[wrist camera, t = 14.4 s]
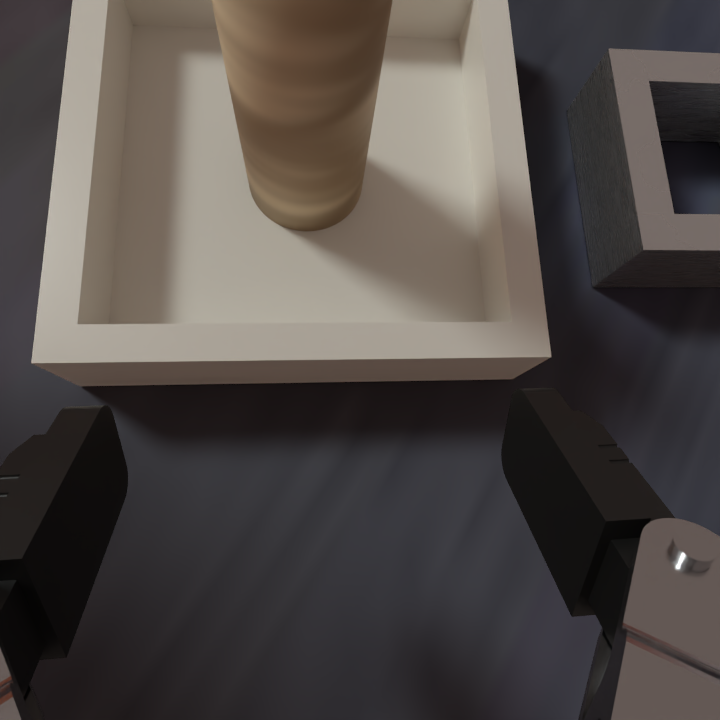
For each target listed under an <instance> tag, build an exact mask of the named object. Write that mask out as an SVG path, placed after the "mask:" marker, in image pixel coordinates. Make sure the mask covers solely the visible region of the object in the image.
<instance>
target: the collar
mask: <svg viewBox="0 0 720 720" xmlns="http://www.w3.org/2000/svg"><path fill="white" fill-rule="evenodd" d="M567 116H568V123H569V130H570V137H571V144H572V151H573V157H574V164H575V171H576V178H577V185H578V192H579V198H580V205H581V212H582V219H583V226H584V232H585V239H586V246H587V253H588V260H589V267H590V273H591V280H592V287H720V215H713V214H674V210H673V204H672V199H671V194H670V189H669V183H668V178H667V173H666V168H665V163H664V157H663V152H662V147H661V142H660V141H682V142H718V143H719V146H720V54H718V53H696V52H673V51H651V50H629V49H608V50H607V52H606V53H605V55H604V56H603V58H602V59H601V61H600V62H599V64H598V65H597V67H596V68H595V70H594V71H593V73H592V74H591V76H590V77H589V79H588V80H587V82H586V83H585V84H584V86H583V87H582V89H581V90H580V92H579V93H578V95H577V96H576V98H575V99H574V101H573V102H572V104H571V105H570V107H569V108H568V110H567Z"/></svg>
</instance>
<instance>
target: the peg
mask: <svg viewBox="0 0 720 720" xmlns="http://www.w3.org/2000/svg"><path fill="white" fill-rule="evenodd" d="M392 1H393V0H212V5H213V10H214V15H215V20H216V25H217V30H218V35H219V40H220V45H221V50H222V55H223V60H224V64H225V69H226V74H227V79H228V84H229V89H230V94H231V99H232V104H233V109H234V114H235V119H236V124H237V129H238V133H239V138H240V143H241V148H242V153H243V158H244V163H245V168H246V173H247V178H248V183H249V188H250V192H251V195H252V198H253V200H254V202H255V204H256V205H257V206H258V208H259V209H260V210H261V211H262V213H263V214H264V215H265V216H267V217H268V218H269V219H270V220H272V221H273V222H275V223H277V224H279V225H281V226H283V227H286V228H289V229H292V230H297V231H317V230H322V229H326V228H329V227H331V226H333V225H335V224H337V223H339V222H341V221H342V220H343V219H344V218H346V217H347V216H348V215H349V214H350V213H351V212H352V210H353V209H354V208H355V206H356V204H357V202H358V200H359V198H360V195H361V190H362V184H363V178H364V172H365V166H366V160H367V154H368V148H369V142H370V135H371V129H372V123H373V117H374V111H375V105H376V99H377V93H378V86H379V80H380V74H381V68H382V62H383V56H384V50H385V44H386V38H387V31H388V25H389V19H390V13H391V7H392Z"/></svg>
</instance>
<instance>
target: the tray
mask: <svg viewBox="0 0 720 720" xmlns="http://www.w3.org/2000/svg"><path fill="white" fill-rule="evenodd" d="M550 357H551V349H550V341H549V333H548V325H547V317H546V309H545V301H544V293H543V284H542V276H541V268H540V260H539V252H538V244H537V236H536V228H535V219H534V211H533V203H532V195H531V187H530V179H529V171H528V163H527V155H526V146H525V138H524V130H523V122H522V114H521V106H520V98H519V90H518V81H517V73H516V65H515V57H514V49H513V41H512V33H511V25H510V16H509V8H508V0H393V1H392V7H391V13H390V19H389V25H388V31H387V38H386V44H385V50H384V56H383V62H382V68H381V74H380V80H379V86H378V93H377V99H376V105H375V111H374V117H373V123H372V129H371V135H370V142H369V148H368V154H367V160H366V166H365V172H364V178H363V184H362V190H361V195H360V198H359V200H358V202H357V204H356V206H355V208H354V209H353V210H352V212H351V213H350V214H349V215H348V216H347V217H346V218H344V219H343V220H342V221H341V222H339V223H337V224H335V225H333V226H331V227H329V228H326V229H322V230H317V231H297V230H292V229H289V228H286V227H283V226H281V225H279V224H277V223H275V222H273V221H272V220H270V219H269V218H268V217H267V216H265V215H264V214H263V213H262V211H261V210H260V209H259V208H258V206H257V205H256V204H255V202H254V200H253V198H252V195H251V192H250V188H249V183H248V178H247V173H246V168H245V163H244V158H243V153H242V148H241V143H240V138H239V133H238V129H237V124H236V119H235V114H234V109H233V104H232V99H231V94H230V89H229V84H228V79H227V74H226V69H225V64H224V60H223V55H222V50H221V45H220V40H219V35H218V30H217V25H216V20H215V15H214V10H213V5H212V0H73V2H72V11H71V20H70V29H69V37H68V46H67V55H66V64H65V72H64V81H63V90H62V99H61V108H60V116H59V125H58V134H57V143H56V151H55V160H54V169H53V178H52V186H51V195H50V204H49V213H48V222H47V230H46V239H45V248H44V257H43V265H42V274H41V283H40V292H39V301H38V309H37V318H36V327H35V336H34V344H33V353H32V362H31V363H32V364H34V365H36V366H38V367H40V368H42V369H45V370H47V371H49V372H51V373H53V374H55V375H57V376H59V377H62V378H64V379H66V380H68V381H70V382H72V383H74V384H76V385H79V386H124V385H186V384H249V383H311V382H373V381H436V380H498V379H514V378H515V377H517V376H519V375H521V374H522V373H524V372H526V371H528V370H529V369H531V368H533V367H535V366H536V365H538V364H540V363H542V362H543V361H545V360H547V359H549V358H550Z"/></svg>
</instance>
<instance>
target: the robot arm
mask: <svg viewBox="0 0 720 720" xmlns="http://www.w3.org/2000/svg"><path fill="white" fill-rule="evenodd" d="M501 457H502V466H503V471H504V474H505V477H506V479H507V481H508V483H509V486H510V488H511V490H512V492H513V494H514V496H515V498H516V500H517V502H518V504H519V507H520V509H521V511H522V513H523V515H524V517H525V519H526V521H527V523H528V526H529V528H530V530H531V532H532V534H533V536H534V538H535V540H536V542H537V544H538V547H539V549H540V551H541V553H542V555H543V557H544V559H545V561H546V563H547V566H548V568H549V570H550V572H551V574H552V576H553V578H554V580H555V582H556V585H557V587H558V589H559V591H560V593H561V595H562V597H563V599H564V601H565V603H566V606H567V608H568V610H569V612H570V614H571V616H572V617H574V616H585V615H596V616H597V618H598V620H599V622H600V624H601V626H602V629H601V632H600V634H599V637H598V640H597V644H596V648H595V652H594V657H593V661H592V665H591V669H590V673H589V677H588V681H587V685H586V690H585V694H584V698H583V702H582V706H581V710H580V714H579V718H578V720H720V537H719V536H717V535H716V534H714V533H713V532H711V531H710V530H708V529H706V528H704V527H702V526H700V525H697V524H695V523H692V522H689V521H686V520H681V519H676V518H675V517H674V516H673V515H672V513H671V512H670V511H669V509H668V508H667V507H666V506H665V504H664V503H663V502H662V501H661V499H660V498H659V497H658V495H657V494H656V493H655V492H654V490H653V489H652V488H651V487H650V485H649V484H648V483H647V481H646V480H645V479H644V478H643V476H642V475H641V474H640V473H639V471H638V470H637V469H636V468H635V466H634V465H633V464H632V463H629V459H628V457H627V456H626V455H625V454H624V452H623V451H622V450H621V448H617V443H616V442H615V441H614V440H613V438H612V437H611V436H610V434H609V433H608V432H607V431H606V429H605V428H604V427H603V426H602V425H601V424H599V423H598V422H596V421H595V420H594V419H592V418H591V417H589V416H588V415H586V414H585V413H583V412H582V411H572V410H571V408H570V407H569V406H568V404H567V403H566V402H565V400H564V399H563V398H562V396H561V395H560V393H559V392H558V391H557V390H556V389H555V388H531V389H517V390H515V391H514V393H513V395H512V399H511V404H510V409H509V414H508V419H507V424H506V429H505V434H504V439H503V444H502V452H501ZM127 486H128V471H127V465H126V461H125V457H124V454H123V450H122V446H121V442H120V439H119V435H118V431H117V427H116V424H115V420H114V416H113V413H112V411H111V409H110V408H109V407H108V406H106V405H103V406H79V407H65V408H63V409H62V410H61V411H60V412H59V414H58V415H57V417H56V419H55V420H54V422H53V423H52V425H51V427H50V428H49V430H48V431H47V433H46V434H44V435H33V436H32V437H31V438H29V439H28V440H27V441H26V442H24V443H23V444H22V445H20V446H19V447H18V448H17V449H15V450H14V451H13V452H12V453H10V454H9V456H8V457H7V458H6V460H5V461H4V463H3V464H2V466H1V467H0V720H45V717H44V715H43V712H42V710H41V707H40V705H39V702H38V700H37V697H36V695H35V692H34V690H33V688H32V686H31V684H30V681H31V679H32V676H33V674H34V671H35V669H36V666H37V664H38V662H39V660H43V659H54V658H66V657H67V655H68V652H69V649H70V647H71V644H72V641H73V638H74V636H75V633H76V630H77V628H78V625H79V622H80V619H81V617H82V614H83V611H84V609H85V606H86V603H87V600H88V598H89V595H90V592H91V590H92V587H93V584H94V582H95V579H96V576H97V573H98V571H99V568H100V565H101V563H102V560H103V557H104V554H105V552H106V549H107V546H108V544H109V541H110V538H111V535H112V533H113V530H114V527H115V525H116V522H117V519H118V516H119V514H120V511H121V508H122V506H123V503H124V500H125V497H126V493H127Z"/></svg>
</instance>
